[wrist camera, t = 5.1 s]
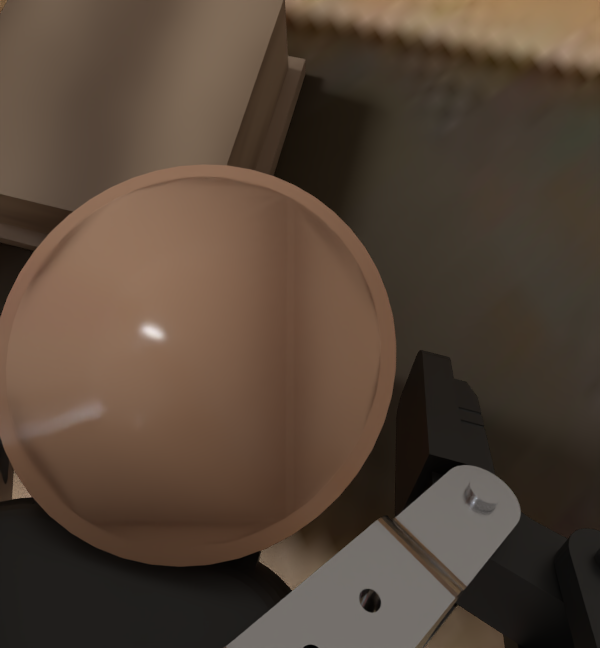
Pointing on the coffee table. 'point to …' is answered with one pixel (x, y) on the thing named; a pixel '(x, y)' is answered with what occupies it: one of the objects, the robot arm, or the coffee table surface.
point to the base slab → (134, 97)
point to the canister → (194, 365)
